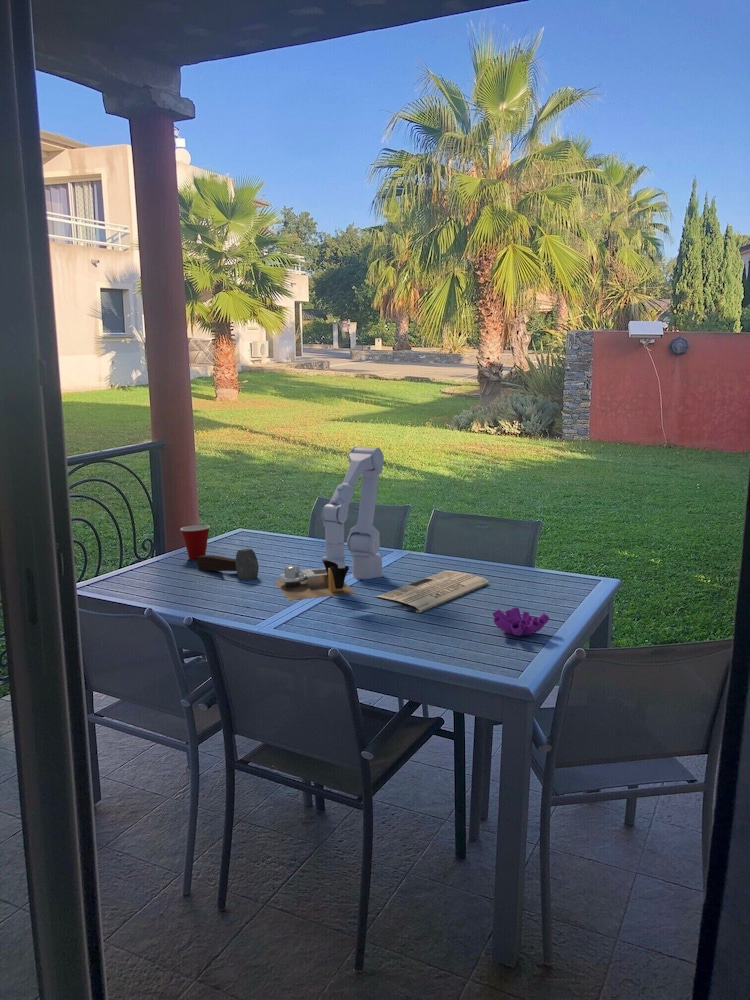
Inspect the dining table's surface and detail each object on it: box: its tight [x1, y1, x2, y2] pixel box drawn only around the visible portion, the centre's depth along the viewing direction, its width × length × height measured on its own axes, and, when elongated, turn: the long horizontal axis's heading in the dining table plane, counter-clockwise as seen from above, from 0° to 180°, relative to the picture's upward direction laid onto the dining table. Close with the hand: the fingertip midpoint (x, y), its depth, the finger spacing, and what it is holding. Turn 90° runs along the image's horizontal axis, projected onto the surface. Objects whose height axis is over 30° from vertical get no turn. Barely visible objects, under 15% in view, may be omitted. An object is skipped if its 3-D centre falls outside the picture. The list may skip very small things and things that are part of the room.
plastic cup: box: [179, 524, 211, 561], centre depth 290 cm, size 11×11×12 cm
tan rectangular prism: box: [328, 568, 343, 592], centre depth 244 cm, size 4×2×7 cm, turn 109°
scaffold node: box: [278, 564, 329, 587], centre depth 252 cm, size 20×9×6 cm, turn 109°
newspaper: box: [375, 569, 490, 614], centre depth 246 cm, size 37×19×3 cm, turn 139°
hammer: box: [196, 548, 259, 581], centre depth 267 cm, size 5×11×30 cm
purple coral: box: [492, 606, 550, 637], centre depth 209 cm, size 11×15×10 cm
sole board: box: [274, 579, 356, 602], centre depth 249 cm, size 21×22×2 cm
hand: (335, 584), depth 245 cm, fingers open, 7 cm apart
